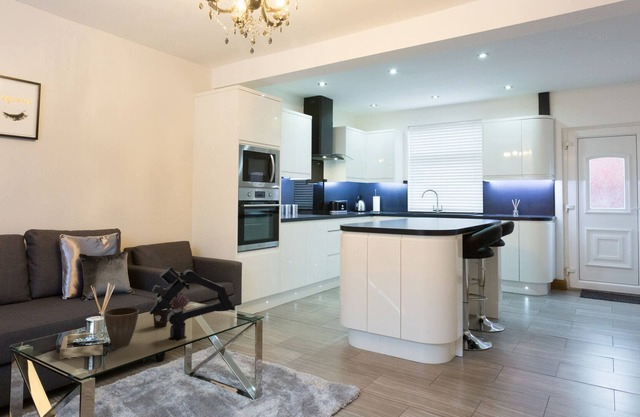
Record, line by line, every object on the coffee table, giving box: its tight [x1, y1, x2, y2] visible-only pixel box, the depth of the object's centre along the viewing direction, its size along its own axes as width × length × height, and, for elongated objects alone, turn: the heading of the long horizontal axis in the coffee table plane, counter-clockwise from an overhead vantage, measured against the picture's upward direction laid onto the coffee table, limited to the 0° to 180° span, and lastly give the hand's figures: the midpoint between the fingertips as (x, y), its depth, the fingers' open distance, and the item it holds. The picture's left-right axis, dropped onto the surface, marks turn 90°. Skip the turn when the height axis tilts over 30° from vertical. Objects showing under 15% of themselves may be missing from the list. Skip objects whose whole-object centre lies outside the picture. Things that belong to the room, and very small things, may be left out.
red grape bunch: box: [170, 294, 190, 311], centre depth 260 cm, size 18×10×10 cm, turn 154°
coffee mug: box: [152, 309, 172, 329], centre depth 223 cm, size 12×9×10 cm
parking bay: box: [59, 331, 104, 360], centre depth 185 cm, size 16×22×4 cm
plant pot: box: [103, 307, 140, 348], centre depth 192 cm, size 15×15×16 cm
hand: (150, 313), depth 198 cm, fingers closed
